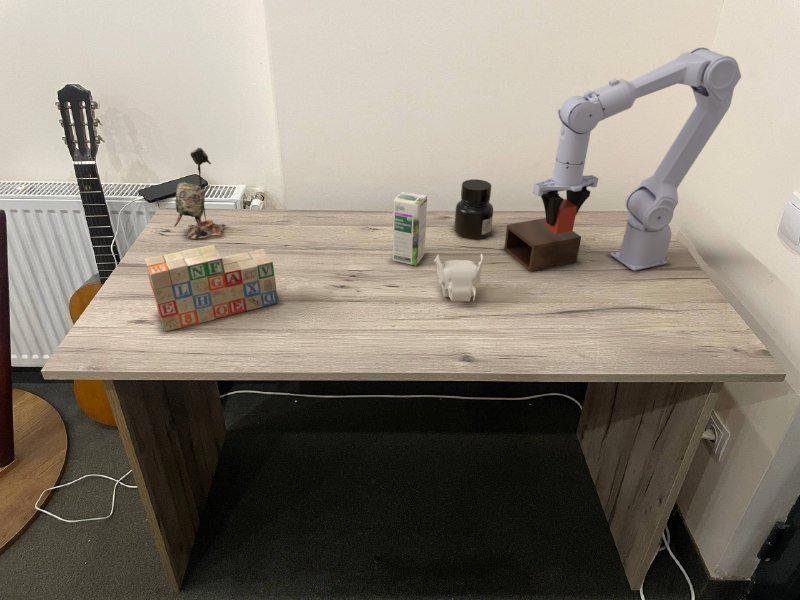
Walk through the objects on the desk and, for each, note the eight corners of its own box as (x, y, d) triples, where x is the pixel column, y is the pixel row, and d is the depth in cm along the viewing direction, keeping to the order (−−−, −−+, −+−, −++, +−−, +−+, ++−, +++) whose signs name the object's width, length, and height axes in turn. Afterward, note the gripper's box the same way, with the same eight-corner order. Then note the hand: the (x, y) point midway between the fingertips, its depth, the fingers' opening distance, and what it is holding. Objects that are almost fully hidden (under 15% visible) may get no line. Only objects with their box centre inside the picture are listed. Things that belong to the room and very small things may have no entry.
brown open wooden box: (547, 241, 141) (552, 216, 138) (576, 262, 133) (581, 236, 129) (503, 249, 137) (506, 224, 134) (530, 271, 129) (534, 245, 125)
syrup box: (391, 261, 132) (392, 199, 124) (401, 250, 136) (403, 189, 128) (416, 266, 130) (418, 204, 122) (425, 254, 134) (428, 194, 127)
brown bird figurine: (184, 224, 146) (169, 143, 135) (230, 226, 145) (218, 145, 134) (171, 239, 139) (153, 155, 128) (219, 241, 138) (205, 157, 127)
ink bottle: (493, 241, 141) (498, 193, 134) (455, 240, 141) (459, 192, 134) (488, 223, 149) (493, 177, 142) (452, 222, 149) (456, 176, 143)
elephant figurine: (437, 312, 115) (439, 272, 110) (431, 280, 125) (433, 242, 120) (486, 312, 115) (491, 271, 110) (476, 280, 125) (480, 242, 121)
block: (560, 222, 130) (565, 198, 127) (572, 230, 127) (577, 206, 124) (544, 225, 128) (548, 201, 125) (556, 234, 125) (560, 209, 122)
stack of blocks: (268, 288, 121) (262, 234, 114) (278, 304, 116) (272, 247, 110) (158, 315, 113) (143, 257, 106) (163, 332, 108) (149, 273, 101)
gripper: (551, 171, 114) (541, 235, 121) (612, 162, 119) (599, 224, 126) (531, 159, 119) (522, 221, 127) (590, 151, 124) (578, 211, 132)
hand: (559, 222), depth 127 cm, fingers closed on block, 4 cm apart
